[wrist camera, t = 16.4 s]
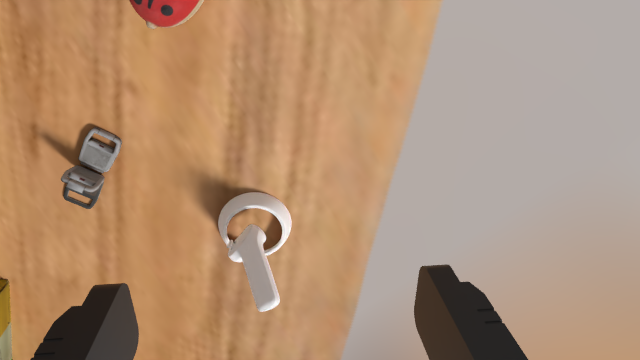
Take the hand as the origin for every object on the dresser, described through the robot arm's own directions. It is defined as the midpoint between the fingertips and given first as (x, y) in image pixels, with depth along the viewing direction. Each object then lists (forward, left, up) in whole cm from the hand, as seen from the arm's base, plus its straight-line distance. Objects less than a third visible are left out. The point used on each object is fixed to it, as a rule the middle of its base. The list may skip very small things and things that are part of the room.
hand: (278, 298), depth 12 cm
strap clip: (-5, -19, -30) cm, 36 cm away
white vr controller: (+10, -12, -30) cm, 34 cm away
